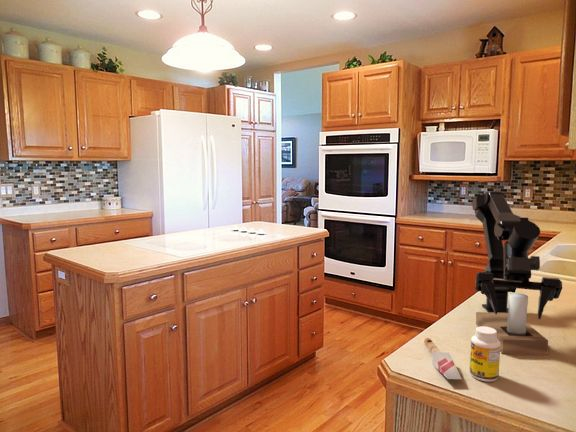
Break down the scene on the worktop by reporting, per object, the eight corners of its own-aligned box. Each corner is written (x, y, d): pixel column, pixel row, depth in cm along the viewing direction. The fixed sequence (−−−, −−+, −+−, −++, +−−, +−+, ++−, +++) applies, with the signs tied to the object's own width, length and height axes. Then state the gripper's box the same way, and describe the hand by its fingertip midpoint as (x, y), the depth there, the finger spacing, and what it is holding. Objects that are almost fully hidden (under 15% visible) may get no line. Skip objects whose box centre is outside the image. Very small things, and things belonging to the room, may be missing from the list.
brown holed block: (475, 324, 119) (476, 312, 118) (513, 325, 118) (514, 312, 117) (502, 353, 101) (503, 339, 100) (547, 354, 100) (548, 340, 100)
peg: (503, 341, 108) (505, 292, 106) (520, 341, 107) (523, 292, 106) (510, 348, 104) (513, 298, 102) (528, 349, 103) (531, 298, 102)
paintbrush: (444, 371, 87) (420, 335, 107) (444, 385, 87) (420, 346, 107) (464, 372, 87) (436, 335, 106) (464, 385, 87) (436, 346, 107)
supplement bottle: (464, 371, 93) (466, 325, 92) (487, 368, 94) (489, 323, 93) (480, 384, 88) (482, 336, 86) (504, 381, 89) (507, 333, 87)
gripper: (477, 240, 110) (476, 295, 101) (563, 245, 102) (570, 305, 94) (476, 264, 118) (474, 316, 109) (555, 270, 111) (560, 326, 102)
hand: (517, 316), depth 103 cm, fingers open, 9 cm apart
